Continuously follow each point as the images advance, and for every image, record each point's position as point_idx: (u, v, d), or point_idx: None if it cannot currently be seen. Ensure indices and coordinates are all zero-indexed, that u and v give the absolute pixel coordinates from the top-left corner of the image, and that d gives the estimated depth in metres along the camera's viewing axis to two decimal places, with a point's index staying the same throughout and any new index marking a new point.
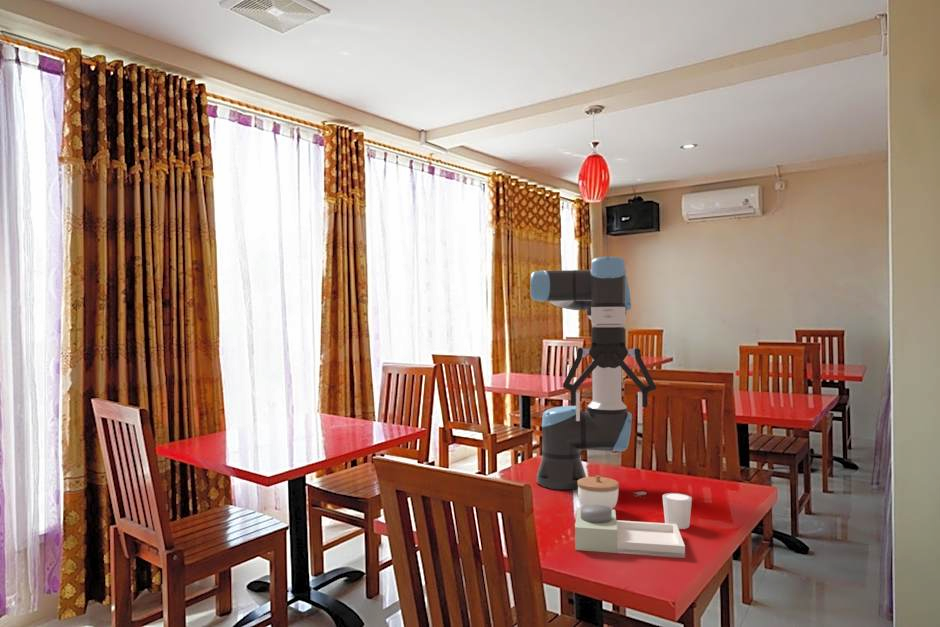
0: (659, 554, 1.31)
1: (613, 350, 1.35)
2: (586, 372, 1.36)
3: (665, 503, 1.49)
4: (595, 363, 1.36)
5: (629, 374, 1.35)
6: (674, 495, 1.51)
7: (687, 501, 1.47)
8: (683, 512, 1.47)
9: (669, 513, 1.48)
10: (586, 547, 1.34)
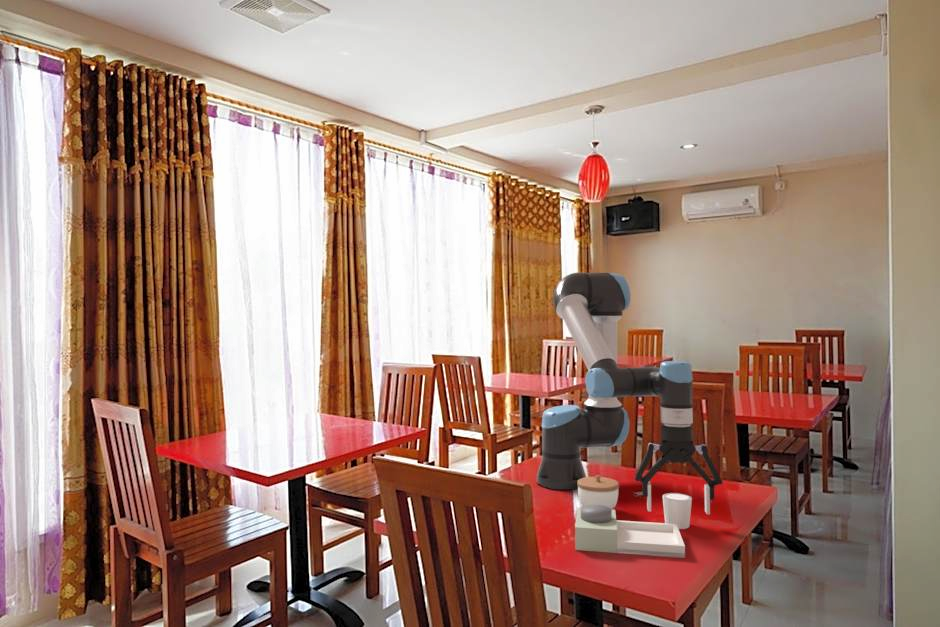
0: (659, 554, 1.31)
1: (682, 447, 1.49)
2: (657, 466, 1.50)
3: (665, 503, 1.49)
4: (665, 459, 1.49)
5: (697, 469, 1.48)
6: (674, 495, 1.51)
7: (687, 501, 1.47)
8: (683, 512, 1.47)
9: (669, 513, 1.48)
10: (586, 547, 1.34)
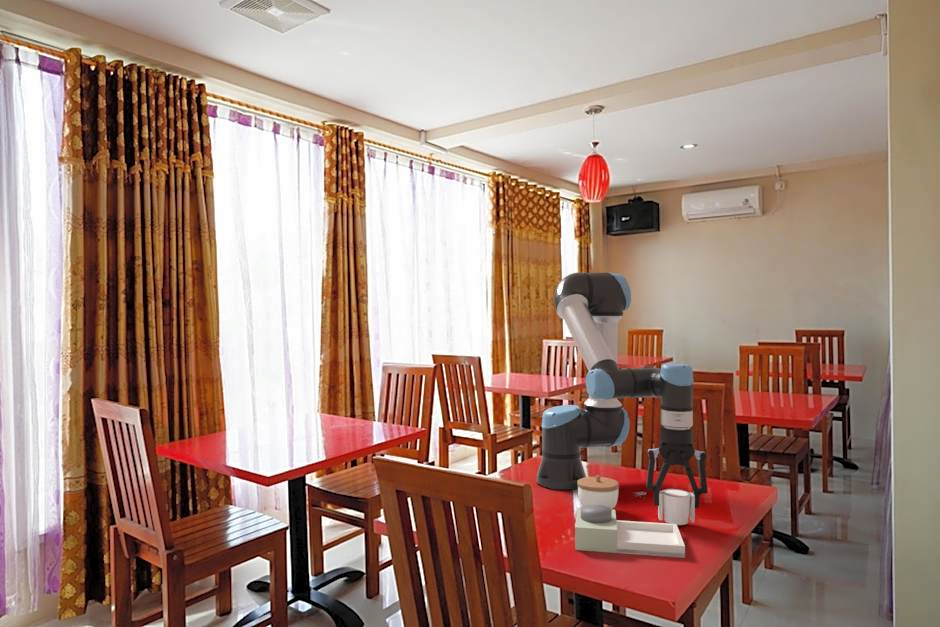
0: (659, 554, 1.31)
1: (682, 447, 1.49)
2: (663, 473, 1.50)
3: (664, 499, 1.49)
4: (668, 463, 1.49)
5: (689, 475, 1.48)
6: (673, 491, 1.52)
7: (686, 497, 1.47)
8: (682, 508, 1.47)
9: (668, 509, 1.49)
10: (586, 547, 1.34)
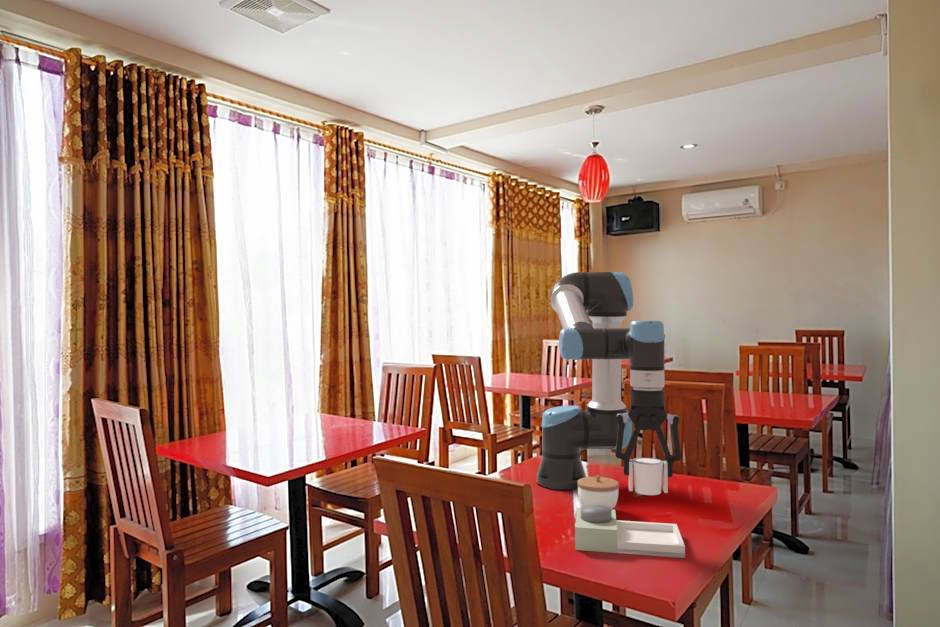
0: (659, 554, 1.31)
1: (654, 410, 1.37)
2: (633, 439, 1.37)
3: (635, 467, 1.37)
4: (638, 427, 1.37)
5: (661, 440, 1.36)
6: (645, 459, 1.39)
7: (658, 465, 1.35)
8: (654, 477, 1.35)
9: (639, 478, 1.36)
10: (586, 547, 1.34)
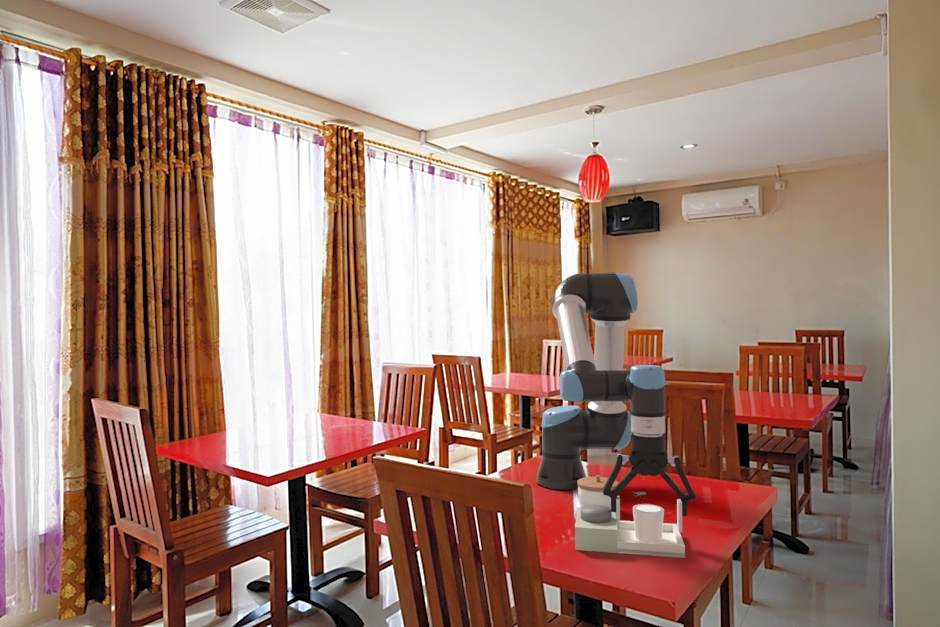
0: (659, 554, 1.31)
1: (653, 458, 1.37)
2: (626, 480, 1.38)
3: (635, 515, 1.37)
4: (635, 471, 1.37)
5: (669, 483, 1.36)
6: (645, 506, 1.39)
7: (658, 513, 1.35)
8: (654, 525, 1.35)
9: (639, 526, 1.36)
10: (586, 547, 1.34)
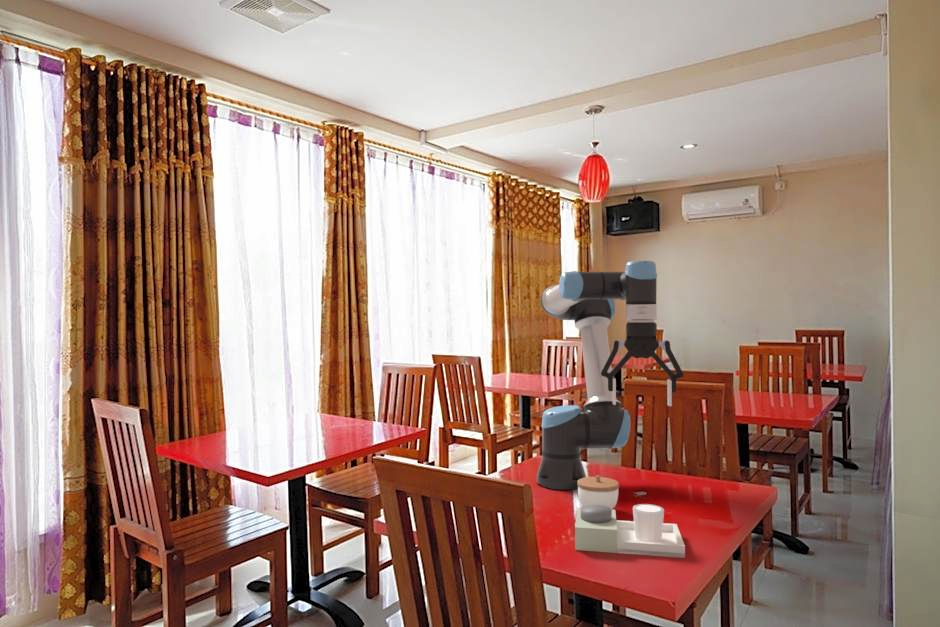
0: (659, 554, 1.31)
1: (646, 342, 1.54)
2: (622, 362, 1.55)
3: (635, 515, 1.37)
4: (630, 354, 1.54)
5: (660, 363, 1.53)
6: (645, 506, 1.39)
7: (659, 513, 1.35)
8: (654, 525, 1.35)
9: (639, 526, 1.36)
10: (586, 547, 1.34)
